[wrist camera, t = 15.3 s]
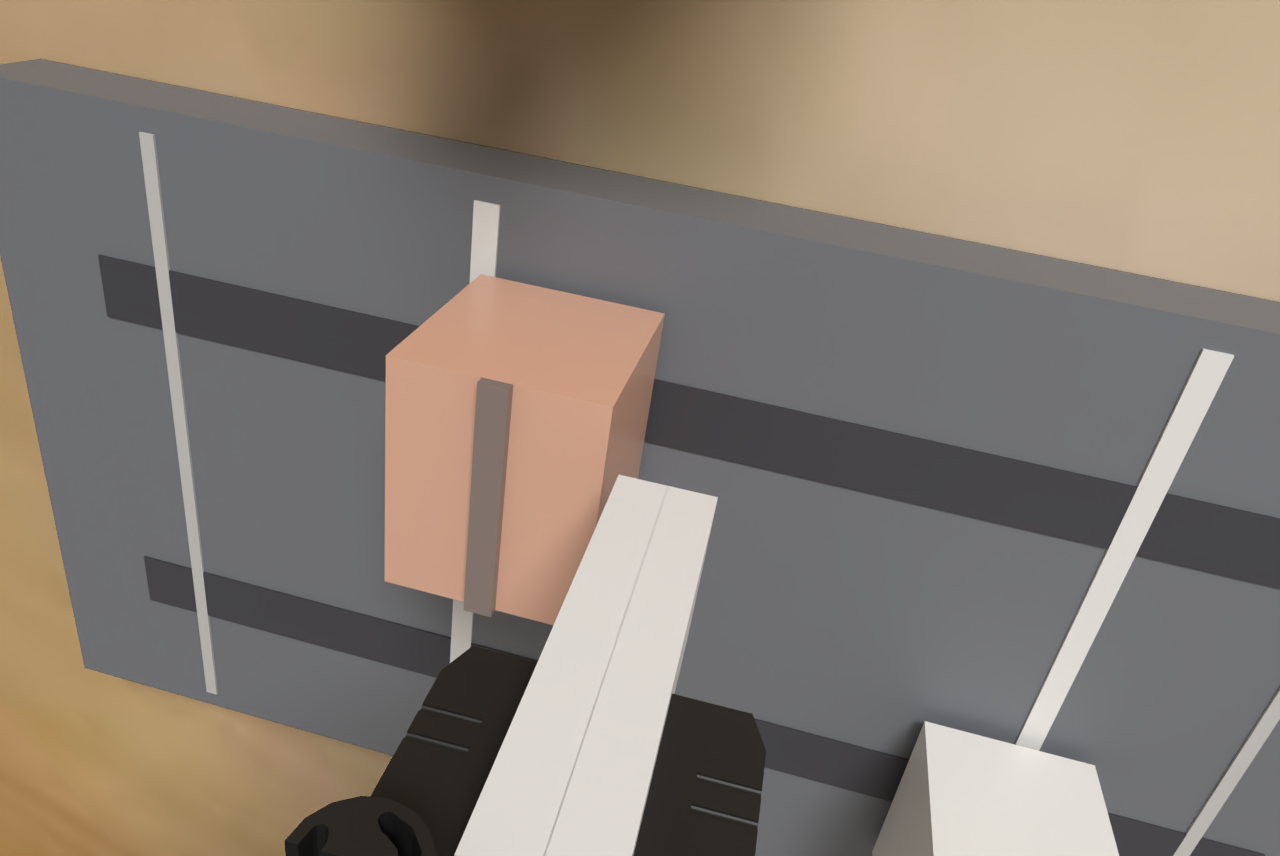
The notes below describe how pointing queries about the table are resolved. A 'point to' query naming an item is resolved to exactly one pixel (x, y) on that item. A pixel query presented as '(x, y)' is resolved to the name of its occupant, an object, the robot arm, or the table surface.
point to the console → (656, 453)
